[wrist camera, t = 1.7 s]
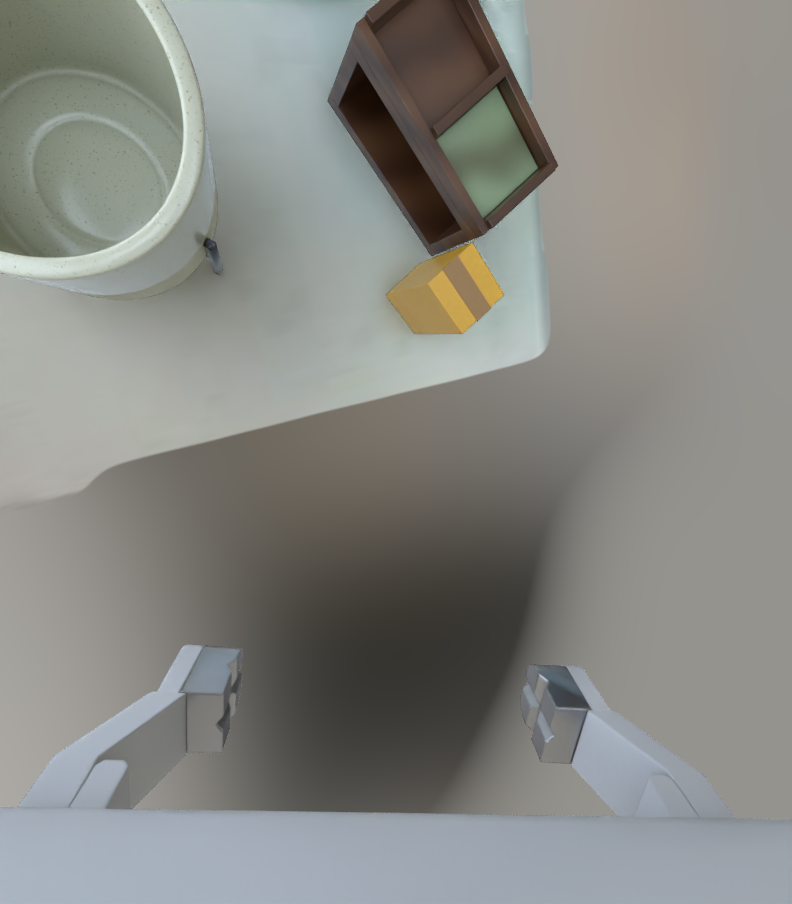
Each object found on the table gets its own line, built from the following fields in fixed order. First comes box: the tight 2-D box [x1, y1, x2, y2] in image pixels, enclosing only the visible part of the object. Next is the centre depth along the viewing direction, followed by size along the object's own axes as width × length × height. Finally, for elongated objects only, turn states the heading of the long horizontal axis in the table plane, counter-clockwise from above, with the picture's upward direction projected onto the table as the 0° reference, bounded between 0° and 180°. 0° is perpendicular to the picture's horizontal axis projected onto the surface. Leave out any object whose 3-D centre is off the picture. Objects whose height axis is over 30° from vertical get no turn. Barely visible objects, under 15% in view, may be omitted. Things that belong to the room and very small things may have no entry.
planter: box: [0, 0, 223, 300], centre depth 29 cm, size 15×16×23 cm
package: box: [386, 243, 504, 334], centre depth 44 cm, size 6×6×12 cm
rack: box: [328, 0, 558, 256], centre depth 40 cm, size 17×10×12 cm, turn 40°
